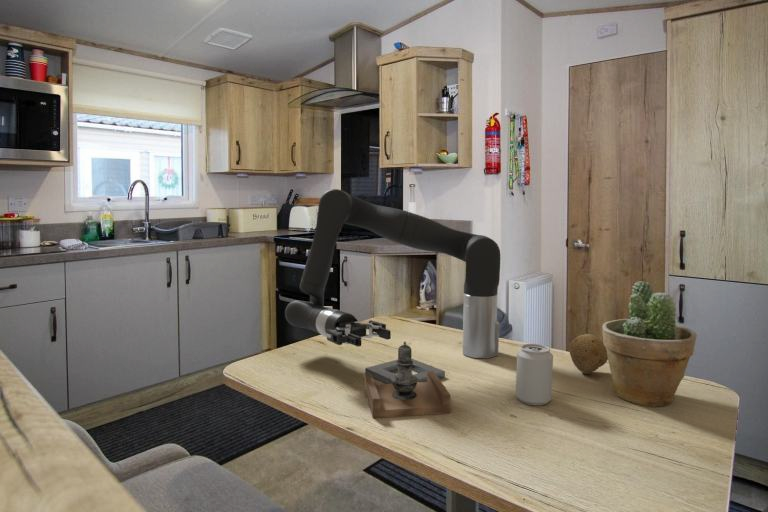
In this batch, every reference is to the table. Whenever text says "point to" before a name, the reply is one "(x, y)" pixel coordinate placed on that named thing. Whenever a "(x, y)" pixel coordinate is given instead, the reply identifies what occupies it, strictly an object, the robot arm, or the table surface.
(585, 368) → the natural sponge
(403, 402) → the brown piece
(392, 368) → the socket frame
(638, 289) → the potted plant
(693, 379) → the table surface
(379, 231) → the robot arm
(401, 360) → the salt shaker
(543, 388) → the can
